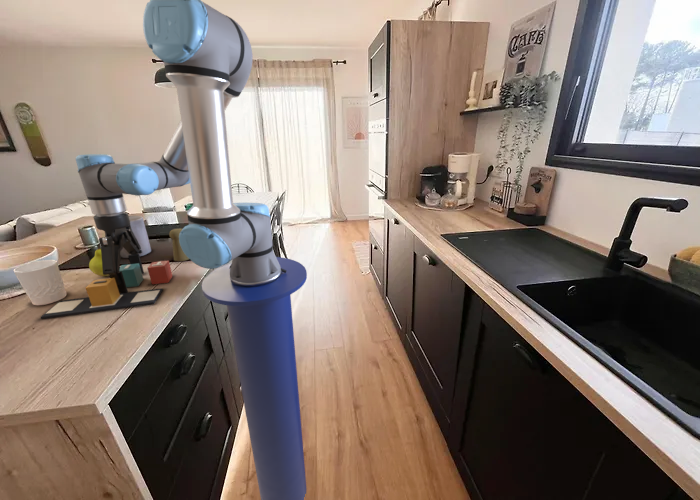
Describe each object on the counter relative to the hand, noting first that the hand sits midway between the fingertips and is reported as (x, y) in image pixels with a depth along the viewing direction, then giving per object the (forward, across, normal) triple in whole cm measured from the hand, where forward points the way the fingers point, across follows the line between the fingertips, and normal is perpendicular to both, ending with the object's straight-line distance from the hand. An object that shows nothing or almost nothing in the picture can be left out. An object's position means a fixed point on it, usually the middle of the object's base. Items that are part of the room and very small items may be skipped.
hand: (130, 282), depth 87 cm
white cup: (+1, +4, -18) cm, 18 cm away
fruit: (+1, -9, -10) cm, 13 cm away
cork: (0, -18, +10) cm, 21 cm away
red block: (0, 0, +8) cm, 9 cm away
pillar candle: (+1, -28, -8) cm, 29 cm away
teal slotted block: (0, 0, 0) cm, 1 cm away
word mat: (0, +11, -2) cm, 11 cm away
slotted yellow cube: (-1, +11, -2) cm, 11 cm away
